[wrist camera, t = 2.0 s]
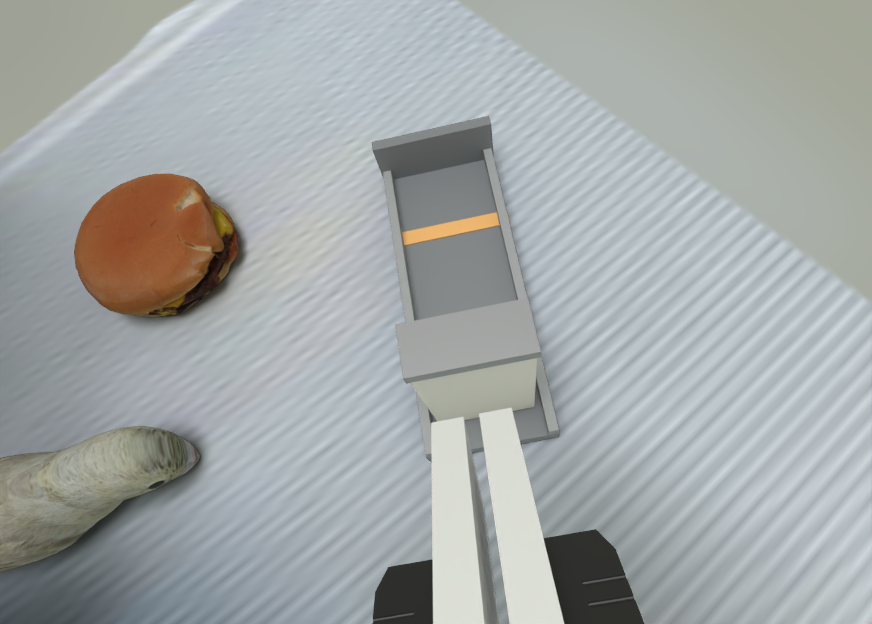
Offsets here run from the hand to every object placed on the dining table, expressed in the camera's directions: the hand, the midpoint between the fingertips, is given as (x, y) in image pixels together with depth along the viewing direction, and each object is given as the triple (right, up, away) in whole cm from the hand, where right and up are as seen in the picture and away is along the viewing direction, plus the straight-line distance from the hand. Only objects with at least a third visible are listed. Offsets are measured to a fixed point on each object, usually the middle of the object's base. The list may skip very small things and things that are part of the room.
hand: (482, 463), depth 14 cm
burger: (-18, +7, +26) cm, 32 cm away
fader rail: (+1, +4, +21) cm, 22 cm away
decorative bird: (-22, -8, +20) cm, 31 cm away
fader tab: (+1, -1, +17) cm, 17 cm away
